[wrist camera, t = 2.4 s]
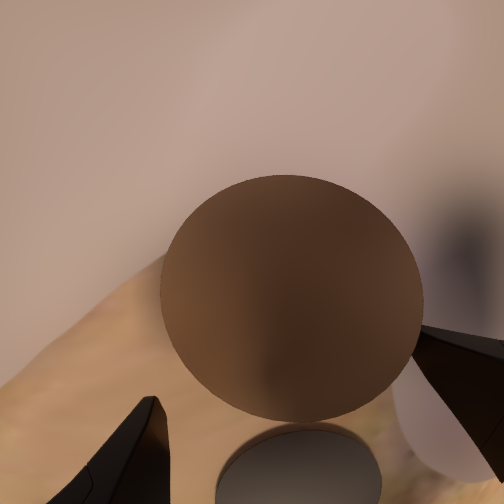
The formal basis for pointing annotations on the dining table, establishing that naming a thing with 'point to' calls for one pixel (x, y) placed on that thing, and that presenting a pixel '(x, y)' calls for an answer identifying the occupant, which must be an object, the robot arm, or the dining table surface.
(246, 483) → the coaster
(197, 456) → the dining table surface
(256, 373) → the brown cylinder
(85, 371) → the dining table surface
